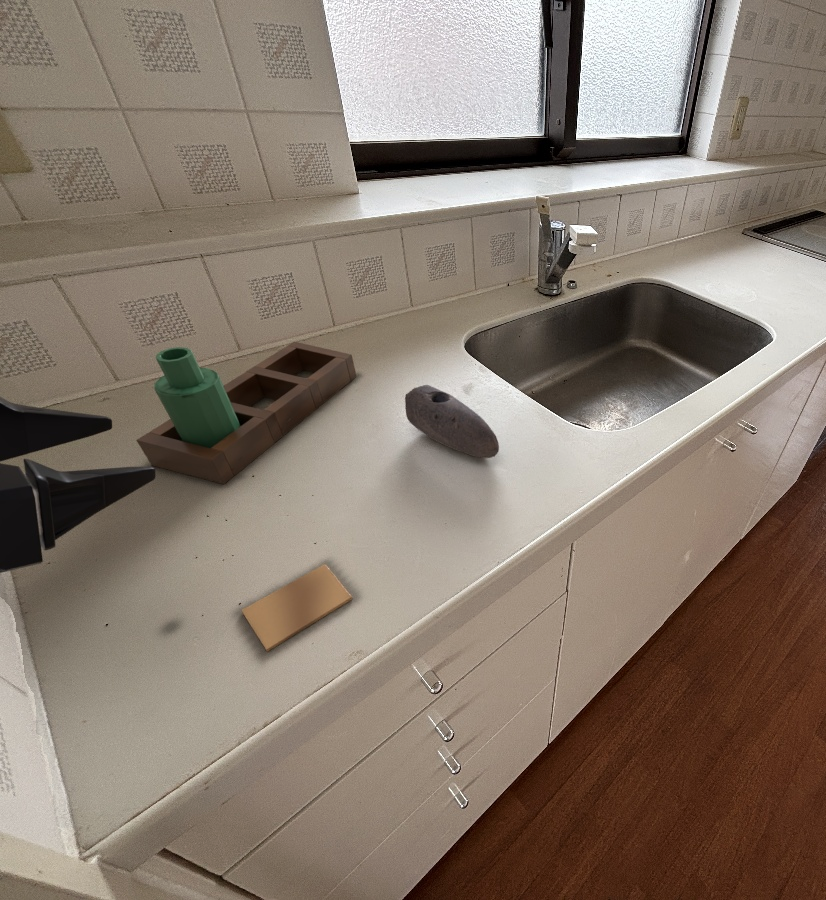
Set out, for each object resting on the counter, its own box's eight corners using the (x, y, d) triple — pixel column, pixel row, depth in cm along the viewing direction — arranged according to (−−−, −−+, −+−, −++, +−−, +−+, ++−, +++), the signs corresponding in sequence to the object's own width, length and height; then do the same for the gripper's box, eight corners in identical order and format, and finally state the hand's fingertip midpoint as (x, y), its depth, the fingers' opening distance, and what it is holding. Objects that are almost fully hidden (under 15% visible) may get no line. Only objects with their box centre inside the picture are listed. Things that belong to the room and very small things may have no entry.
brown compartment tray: (224, 484, 60) (211, 459, 57) (151, 465, 61) (135, 440, 58) (356, 376, 80) (351, 354, 78) (300, 363, 81) (294, 341, 79)
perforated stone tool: (509, 456, 69) (509, 416, 65) (484, 476, 66) (482, 435, 61) (432, 415, 75) (427, 375, 70) (404, 431, 71) (397, 390, 67)
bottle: (192, 470, 61) (137, 372, 52) (192, 442, 64) (141, 346, 56) (249, 458, 64) (207, 362, 55) (246, 431, 67) (206, 337, 58)
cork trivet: (267, 651, 45) (266, 649, 45) (242, 612, 48) (240, 610, 47) (352, 599, 50) (351, 596, 50) (325, 565, 53) (325, 563, 52)
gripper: (-253, 437, 22) (181, 407, 35) (-277, 297, 30) (86, 315, 43) (-187, 624, 26) (180, 534, 39) (-222, 458, 34) (94, 430, 47)
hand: (132, 446), depth 42 cm, fingers open, 9 cm apart
